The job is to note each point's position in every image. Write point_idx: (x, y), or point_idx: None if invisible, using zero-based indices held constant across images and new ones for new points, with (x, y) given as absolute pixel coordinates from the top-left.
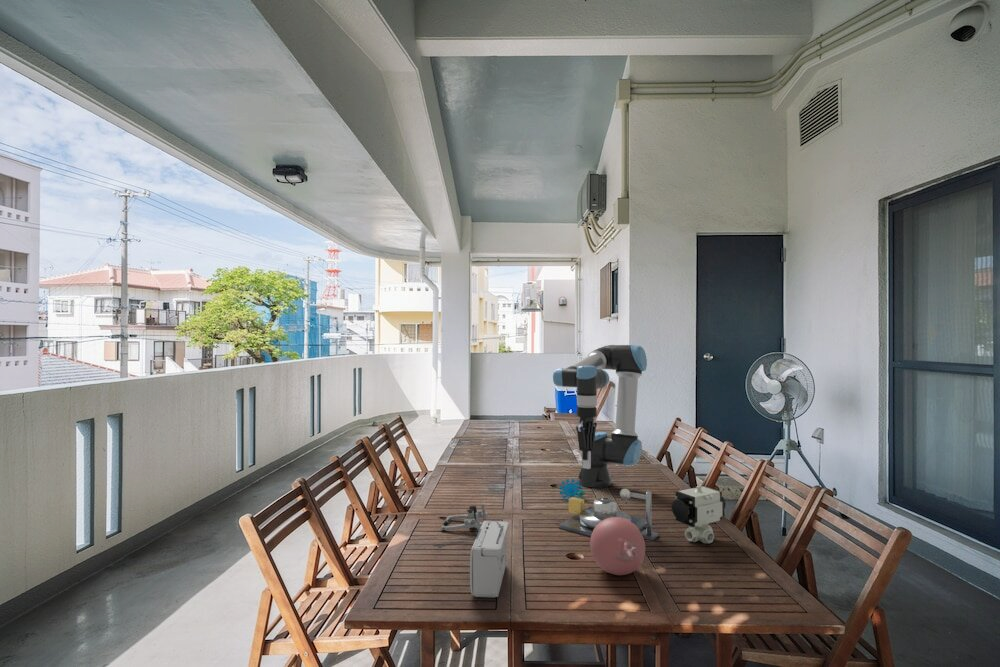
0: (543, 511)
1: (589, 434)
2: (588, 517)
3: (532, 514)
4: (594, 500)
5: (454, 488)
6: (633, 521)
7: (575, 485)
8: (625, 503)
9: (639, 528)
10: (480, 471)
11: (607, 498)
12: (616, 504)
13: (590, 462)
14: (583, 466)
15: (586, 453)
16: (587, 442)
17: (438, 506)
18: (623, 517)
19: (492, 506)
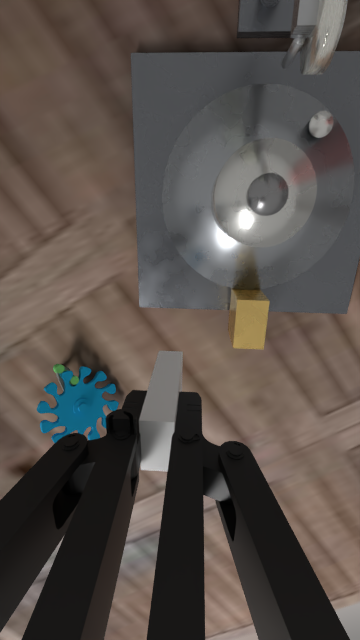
0: (235, 401)
1: (87, 631)
2: (296, 244)
3: (273, 412)
4: (271, 244)
5: (207, 607)
6: (185, 108)
7: (60, 405)
8: (289, 65)
9: (242, 52)
10: None
11: (253, 189)
12: (254, 141)
13: (157, 368)
14: (181, 388)
15: (192, 425)
16: (196, 511)
17: (334, 579)
18: (228, 128)
19: None
